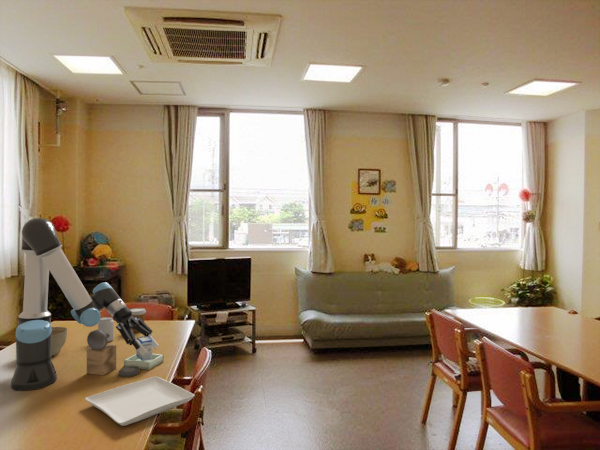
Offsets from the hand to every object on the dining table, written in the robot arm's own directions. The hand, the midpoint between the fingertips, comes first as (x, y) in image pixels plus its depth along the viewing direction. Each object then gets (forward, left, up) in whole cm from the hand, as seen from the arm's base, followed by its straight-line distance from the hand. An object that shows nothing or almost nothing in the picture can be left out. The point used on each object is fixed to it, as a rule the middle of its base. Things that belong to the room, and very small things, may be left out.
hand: (150, 350), depth 183 cm
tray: (0, +3, -7) cm, 7 cm away
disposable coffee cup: (+44, +41, -7) cm, 61 cm away
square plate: (-34, -21, -7) cm, 41 cm away
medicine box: (0, +3, -4) cm, 5 cm away
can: (+23, +44, -7) cm, 50 cm away
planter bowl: (-2, +55, -7) cm, 56 cm away
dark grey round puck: (-11, +2, -6) cm, 13 cm away
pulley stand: (-12, +15, -6) cm, 21 cm away
